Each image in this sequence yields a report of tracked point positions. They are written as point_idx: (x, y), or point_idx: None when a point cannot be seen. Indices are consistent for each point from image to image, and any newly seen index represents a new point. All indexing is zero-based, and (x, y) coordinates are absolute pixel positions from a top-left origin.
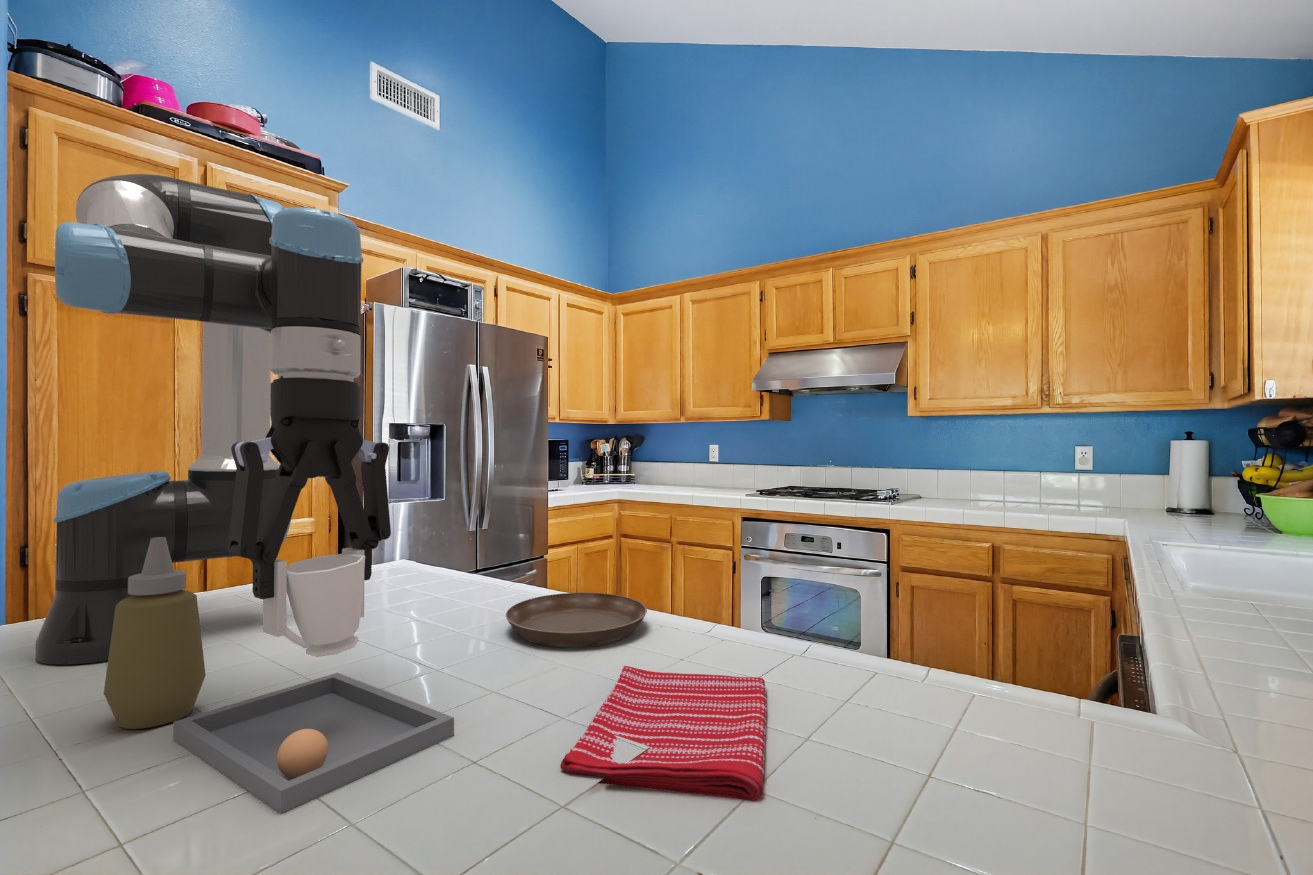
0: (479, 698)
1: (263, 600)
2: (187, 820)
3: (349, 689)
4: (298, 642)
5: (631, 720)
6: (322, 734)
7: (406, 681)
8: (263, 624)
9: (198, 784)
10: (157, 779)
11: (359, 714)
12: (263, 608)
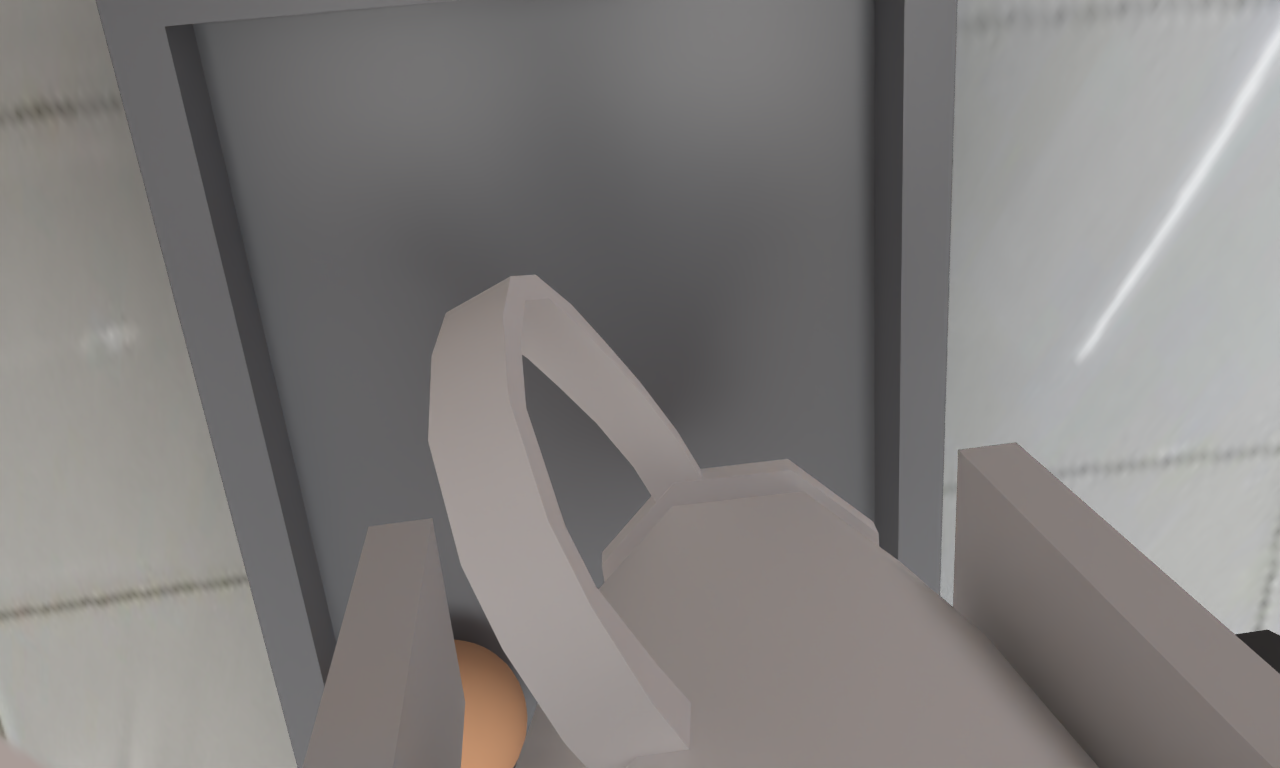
0: (1216, 462)
1: (330, 680)
2: (136, 616)
3: (892, 135)
4: (613, 438)
5: None
6: (508, 763)
7: (1210, 17)
8: (363, 559)
9: (190, 407)
10: (67, 253)
11: (809, 342)
12: (342, 634)
